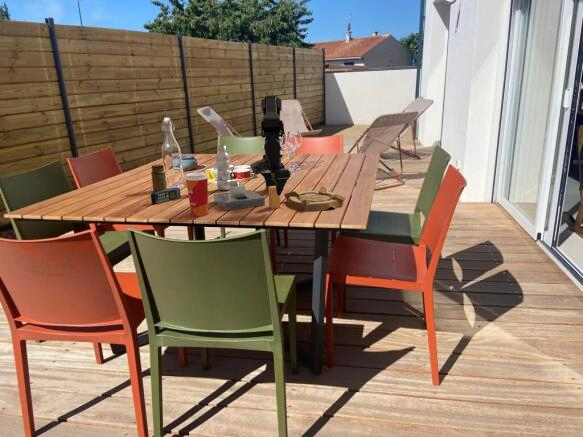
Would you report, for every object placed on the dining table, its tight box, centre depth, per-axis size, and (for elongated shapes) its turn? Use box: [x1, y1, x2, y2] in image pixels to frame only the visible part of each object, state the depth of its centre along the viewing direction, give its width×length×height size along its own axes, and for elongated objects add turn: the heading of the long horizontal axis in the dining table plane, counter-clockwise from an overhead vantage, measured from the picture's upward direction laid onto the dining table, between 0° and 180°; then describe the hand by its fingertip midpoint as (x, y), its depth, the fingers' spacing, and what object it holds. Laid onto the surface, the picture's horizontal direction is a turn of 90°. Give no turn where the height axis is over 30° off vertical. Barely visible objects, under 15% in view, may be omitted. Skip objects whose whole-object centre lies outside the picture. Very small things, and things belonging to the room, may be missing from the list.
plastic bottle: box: [214, 145, 232, 191], centre depth 196 cm, size 6×7×20 cm
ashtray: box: [284, 186, 346, 212], centre depth 171 cm, size 24×24×5 cm
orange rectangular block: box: [268, 186, 281, 210], centre depth 166 cm, size 3×3×8 cm
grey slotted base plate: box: [213, 180, 266, 211], centre depth 174 cm, size 16×16×8 cm
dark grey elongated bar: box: [150, 187, 182, 205], centre depth 181 cm, size 5×3×15 cm
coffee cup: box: [184, 172, 209, 218], centre depth 158 cm, size 8×8×15 cm
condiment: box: [150, 164, 168, 194], centre depth 197 cm, size 7×8×12 cm
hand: (274, 193), depth 166 cm, fingers open, 9 cm apart
